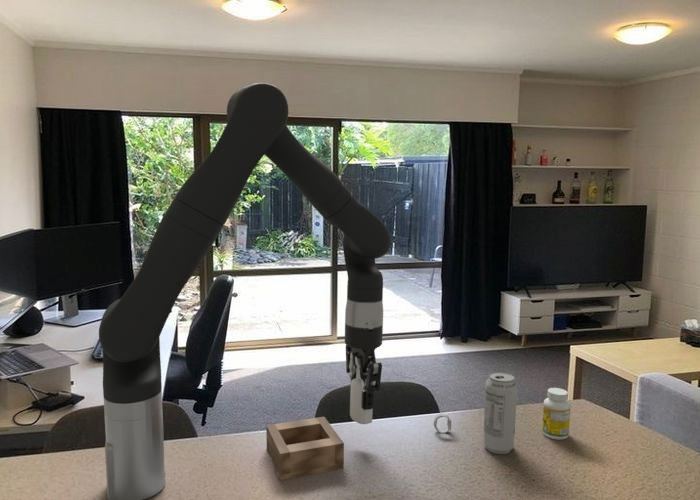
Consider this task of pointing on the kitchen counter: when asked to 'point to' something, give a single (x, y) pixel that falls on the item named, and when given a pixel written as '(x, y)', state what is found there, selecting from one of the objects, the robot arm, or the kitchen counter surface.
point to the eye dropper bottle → (358, 403)
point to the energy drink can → (500, 413)
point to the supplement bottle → (556, 414)
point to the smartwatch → (447, 422)
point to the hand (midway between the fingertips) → (361, 402)
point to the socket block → (304, 447)
